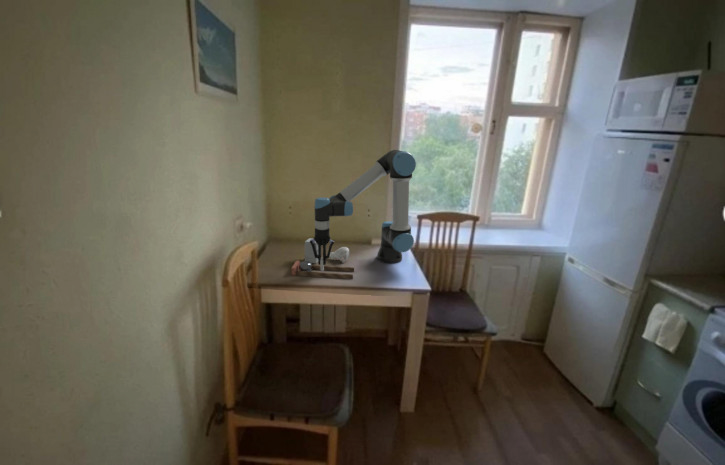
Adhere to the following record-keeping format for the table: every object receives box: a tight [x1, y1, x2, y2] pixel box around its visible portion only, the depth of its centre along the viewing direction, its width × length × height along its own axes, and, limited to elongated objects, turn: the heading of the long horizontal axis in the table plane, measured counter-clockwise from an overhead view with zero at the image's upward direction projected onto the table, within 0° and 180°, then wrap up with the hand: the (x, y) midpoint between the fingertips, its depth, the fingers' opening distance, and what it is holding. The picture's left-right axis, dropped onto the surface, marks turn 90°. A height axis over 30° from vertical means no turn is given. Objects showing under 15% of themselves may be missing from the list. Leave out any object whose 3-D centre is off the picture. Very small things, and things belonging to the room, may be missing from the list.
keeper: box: [299, 260, 312, 272], centre depth 181 cm, size 6×6×5 cm
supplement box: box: [304, 237, 318, 265], centre depth 195 cm, size 7×7×13 cm
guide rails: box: [294, 264, 355, 280], centre depth 181 cm, size 30×10×2 cm, turn 87°
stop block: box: [291, 260, 301, 276], centre depth 181 cm, size 2×10×4 cm, turn 177°
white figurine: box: [329, 246, 350, 264], centre depth 198 cm, size 6×8×12 cm
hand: (322, 270), depth 181 cm, fingers closed
